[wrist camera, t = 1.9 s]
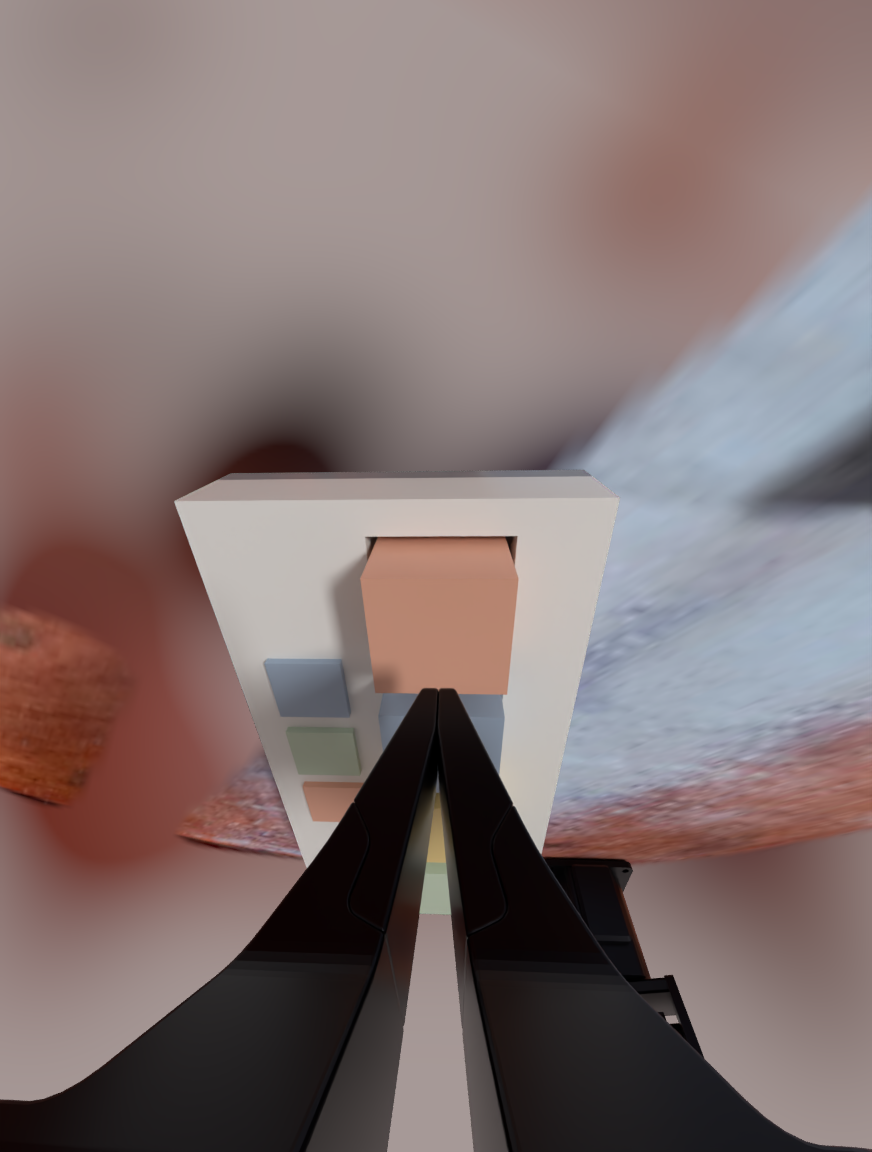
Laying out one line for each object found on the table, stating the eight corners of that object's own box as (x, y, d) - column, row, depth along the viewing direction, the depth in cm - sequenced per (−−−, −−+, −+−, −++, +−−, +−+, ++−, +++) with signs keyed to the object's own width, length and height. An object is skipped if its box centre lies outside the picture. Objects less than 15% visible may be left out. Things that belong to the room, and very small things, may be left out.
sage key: (480, 844, 24) (485, 915, 21) (410, 842, 24) (404, 913, 21) (483, 802, 21) (489, 875, 18) (406, 801, 22) (398, 872, 19)
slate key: (489, 722, 18) (497, 794, 15) (398, 721, 18) (388, 791, 15) (494, 651, 16) (504, 717, 13) (391, 650, 16) (378, 715, 13)
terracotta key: (496, 630, 16) (507, 694, 13) (389, 630, 16) (375, 693, 13) (503, 530, 14) (518, 578, 10) (380, 531, 14) (360, 578, 11)
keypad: (525, 819, 26) (536, 887, 23) (325, 814, 27) (307, 880, 23) (583, 469, 15) (623, 500, 11) (230, 473, 15) (167, 503, 12)
